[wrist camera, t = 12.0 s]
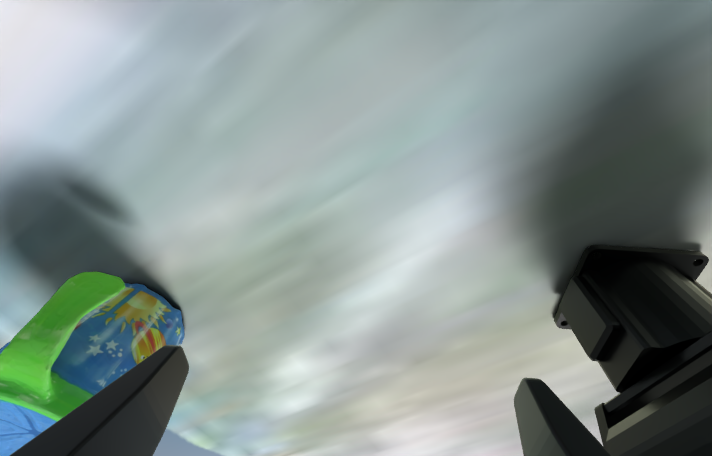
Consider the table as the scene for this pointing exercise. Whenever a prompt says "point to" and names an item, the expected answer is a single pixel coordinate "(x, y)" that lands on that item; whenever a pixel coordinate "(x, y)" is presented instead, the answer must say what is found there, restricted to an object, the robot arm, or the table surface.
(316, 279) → the table surface
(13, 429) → the snack cup
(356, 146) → the table surface
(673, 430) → the robot arm
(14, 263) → the table surface
